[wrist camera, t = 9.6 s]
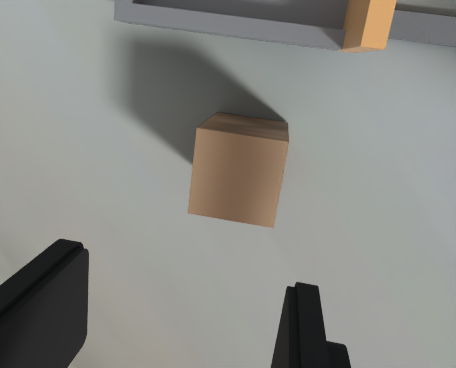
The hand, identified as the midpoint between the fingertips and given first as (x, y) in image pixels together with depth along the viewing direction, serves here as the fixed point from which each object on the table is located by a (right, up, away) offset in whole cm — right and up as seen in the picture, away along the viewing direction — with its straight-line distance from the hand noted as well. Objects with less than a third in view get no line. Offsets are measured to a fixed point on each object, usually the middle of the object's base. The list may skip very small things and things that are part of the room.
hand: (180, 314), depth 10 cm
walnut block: (+3, +6, +18) cm, 20 cm away
